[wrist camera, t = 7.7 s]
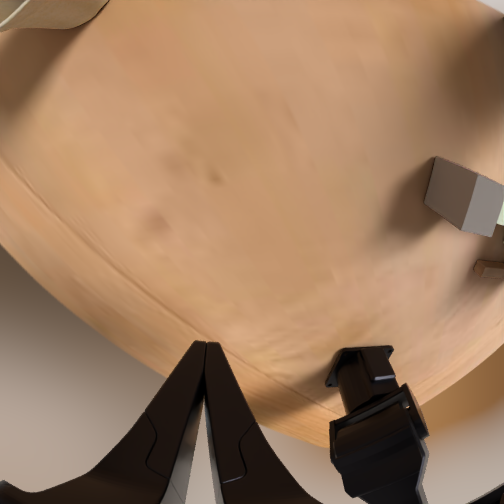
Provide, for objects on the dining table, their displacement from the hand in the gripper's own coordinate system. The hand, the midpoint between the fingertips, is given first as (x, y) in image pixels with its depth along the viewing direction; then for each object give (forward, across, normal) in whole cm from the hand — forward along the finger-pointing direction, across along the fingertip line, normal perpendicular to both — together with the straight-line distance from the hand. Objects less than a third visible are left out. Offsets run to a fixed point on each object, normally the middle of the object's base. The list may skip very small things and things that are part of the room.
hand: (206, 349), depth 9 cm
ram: (+12, -23, -5) cm, 26 cm away
